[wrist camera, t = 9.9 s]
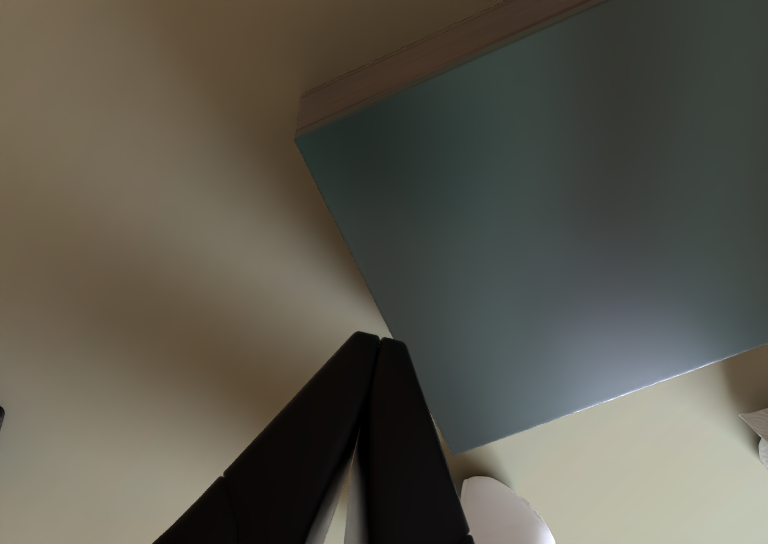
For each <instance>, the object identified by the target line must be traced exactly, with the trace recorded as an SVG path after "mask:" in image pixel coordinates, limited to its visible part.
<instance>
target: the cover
mask: <svg viewBox="0 0 768 544" xmlns="http://www.w3.org/2000/svg"><path fill="white" fill-rule="evenodd" d="M294 141H295V143H296V145H297V147H298V149H299V151H300V153H301V155H302V157H303V159H304V161H305V163H306V165H307V167H308V169H309V171H310V173H311V175H312V177H313V179H314V181H315V183H316V185H317V187H318V189H319V191H320V193H321V195H322V197H323V199H324V201H325V203H326V205H327V207H328V209H329V211H330V213H331V215H332V217H333V219H334V221H335V223H336V225H337V227H338V229H339V231H340V233H341V235H342V237H343V239H344V241H345V243H346V245H347V247H348V249H349V251H350V253H351V255H352V257H353V259H354V261H355V263H356V265H357V267H358V269H359V271H360V273H361V275H362V277H363V279H364V281H365V283H366V285H367V287H368V289H369V291H370V293H371V295H372V297H373V299H374V301H375V303H376V305H377V307H378V309H379V311H380V313H381V315H382V317H383V319H384V321H385V323H386V325H387V327H388V329H389V331H390V333H391V335H392V337H393V339H395V340H399V341H403V342H404V343H406V345H407V347H408V350H409V353H410V356H411V359H412V362H413V365H414V368H415V371H416V374H417V377H418V379H419V382H420V385H421V388H422V391H423V394H424V397H425V400H426V403H427V406H428V409H429V411H430V413H431V415H432V417H433V419H434V421H435V423H436V425H437V427H438V429H439V431H440V433H441V435H442V437H443V439H444V441H445V442H446V444H447V446H448V448H449V450H450V452H451V454H452V456H455V455H458V454H460V453H463V452H466V451H469V450H471V449H474V448H477V447H480V446H483V445H485V444H488V443H491V442H494V441H497V440H499V439H502V438H505V437H508V436H511V435H513V434H516V433H519V432H522V431H525V430H527V429H530V428H533V427H536V426H539V425H541V424H544V423H547V422H550V421H553V420H555V419H558V418H561V417H564V416H567V415H569V414H572V413H575V412H578V411H580V410H583V409H586V408H589V407H592V406H594V405H597V404H600V403H603V402H606V401H608V400H611V399H614V398H617V397H620V396H622V395H625V394H628V393H631V392H634V391H636V390H639V389H642V388H645V387H648V386H650V385H653V384H656V383H659V382H662V381H664V380H667V379H670V378H673V377H675V376H678V375H681V374H684V373H687V372H689V371H692V370H695V369H698V368H701V367H703V366H706V365H709V364H712V363H715V362H717V361H720V360H723V359H726V358H729V357H731V356H734V355H737V354H740V353H743V352H745V351H748V350H751V349H754V348H757V347H759V346H762V345H765V344H768V0H591V1H589V2H586V3H584V4H582V5H580V6H577V7H575V8H573V9H571V10H568V11H566V12H564V13H562V14H559V15H557V16H555V17H553V18H550V19H548V20H546V21H544V22H541V23H539V24H537V25H535V26H532V27H530V28H528V29H526V30H523V31H521V32H519V33H517V34H514V35H512V36H510V37H508V38H505V39H503V40H501V41H499V42H496V43H494V44H492V45H490V46H487V47H485V48H483V49H481V50H478V51H476V52H474V53H472V54H469V55H467V56H465V57H463V58H460V59H458V60H456V61H454V62H451V63H449V64H447V65H445V66H442V67H440V68H438V69H436V70H433V71H431V72H429V73H427V74H424V75H422V76H420V77H418V78H415V79H413V80H411V81H409V82H406V83H404V84H402V85H400V86H398V87H395V88H393V89H391V90H389V91H386V92H384V93H382V94H380V95H377V96H375V97H373V98H371V99H368V100H366V101H364V102H362V103H359V104H357V105H355V106H353V107H350V108H348V109H346V110H344V111H341V112H339V113H337V114H335V115H332V116H330V117H328V118H326V119H323V120H321V121H319V122H317V123H314V124H312V125H310V126H308V127H305V128H303V129H301V130H299V131H297V132H296V133H295V137H294Z"/></svg>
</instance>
